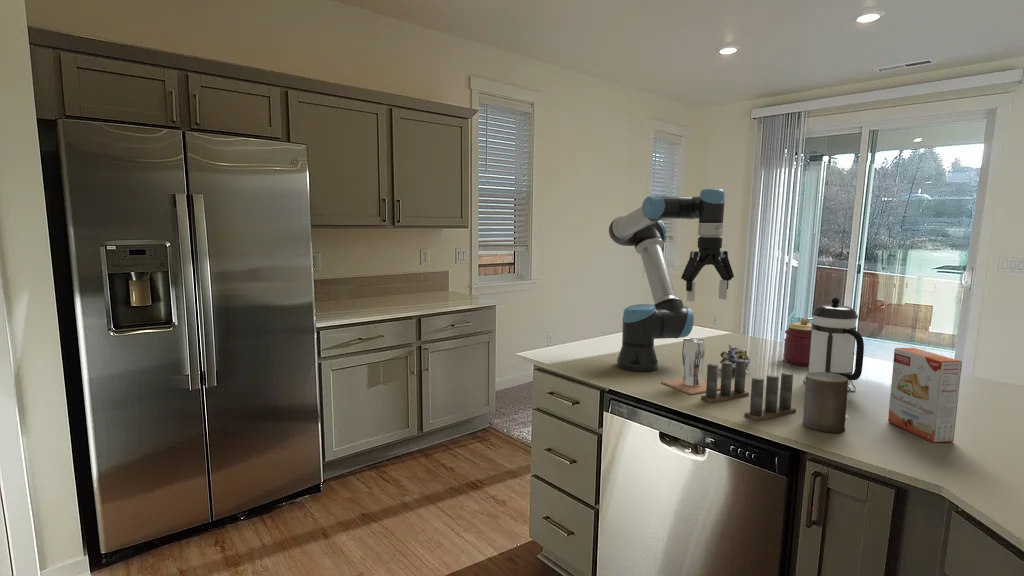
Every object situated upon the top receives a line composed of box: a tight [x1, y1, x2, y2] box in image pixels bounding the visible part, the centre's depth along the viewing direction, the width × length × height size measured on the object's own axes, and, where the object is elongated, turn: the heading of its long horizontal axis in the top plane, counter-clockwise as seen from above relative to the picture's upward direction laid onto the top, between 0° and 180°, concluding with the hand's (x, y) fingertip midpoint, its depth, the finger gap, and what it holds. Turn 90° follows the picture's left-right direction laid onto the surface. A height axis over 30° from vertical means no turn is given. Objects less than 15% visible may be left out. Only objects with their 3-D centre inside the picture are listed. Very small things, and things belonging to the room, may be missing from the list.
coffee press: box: [802, 297, 865, 392], centre depth 168 cm, size 17×16×30 cm
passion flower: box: [719, 344, 751, 371], centre depth 189 cm, size 11×11×12 cm
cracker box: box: [887, 347, 963, 443], centre depth 132 cm, size 14×6×21 cm, turn 5°
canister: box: [782, 318, 812, 367], centre depth 201 cm, size 13×13×18 cm
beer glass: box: [681, 337, 705, 387], centre depth 170 cm, size 7×7×15 cm
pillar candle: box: [802, 372, 849, 434], centre depth 136 cm, size 10×10×15 cm
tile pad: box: [660, 377, 721, 396], centre depth 171 cm, size 14×14×1 cm
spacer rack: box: [700, 360, 797, 422], centre depth 152 cm, size 20×16×11 cm
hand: (706, 300), depth 172 cm, fingers open, 13 cm apart
